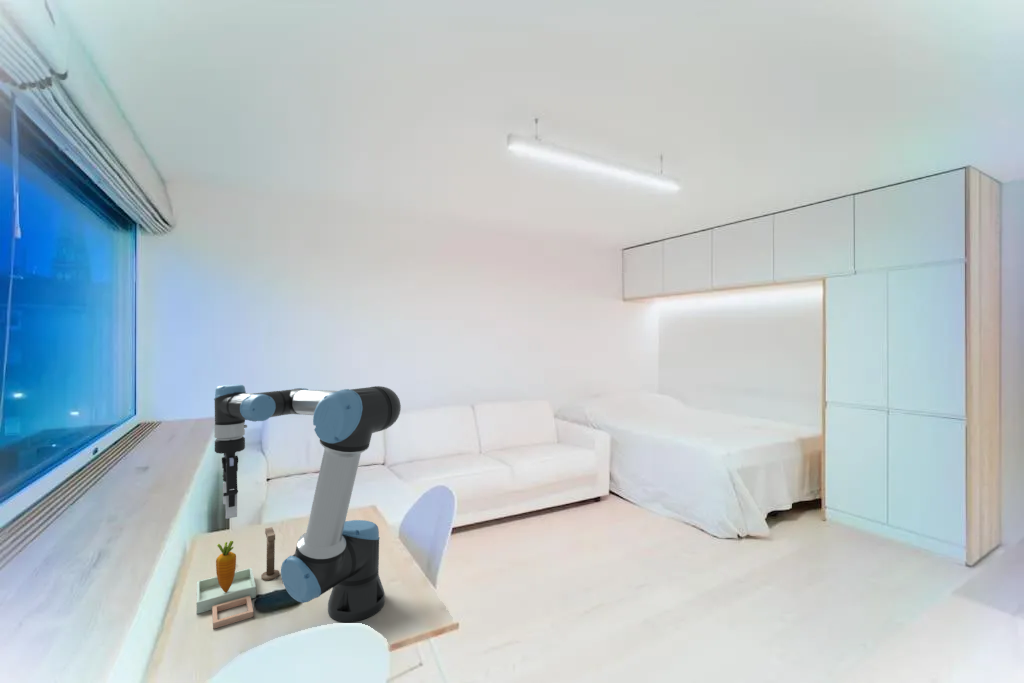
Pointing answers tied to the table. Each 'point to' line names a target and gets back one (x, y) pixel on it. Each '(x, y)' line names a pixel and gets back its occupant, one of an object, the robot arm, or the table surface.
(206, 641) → the table surface
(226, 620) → the holder ring
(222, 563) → the carrot
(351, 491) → the robot arm
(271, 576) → the t stake
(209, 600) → the tray
